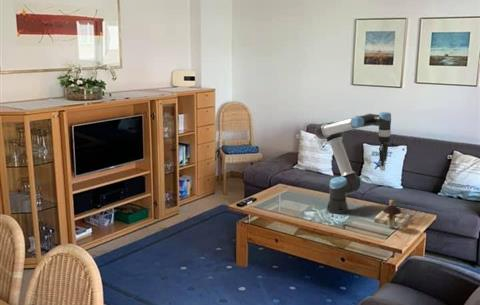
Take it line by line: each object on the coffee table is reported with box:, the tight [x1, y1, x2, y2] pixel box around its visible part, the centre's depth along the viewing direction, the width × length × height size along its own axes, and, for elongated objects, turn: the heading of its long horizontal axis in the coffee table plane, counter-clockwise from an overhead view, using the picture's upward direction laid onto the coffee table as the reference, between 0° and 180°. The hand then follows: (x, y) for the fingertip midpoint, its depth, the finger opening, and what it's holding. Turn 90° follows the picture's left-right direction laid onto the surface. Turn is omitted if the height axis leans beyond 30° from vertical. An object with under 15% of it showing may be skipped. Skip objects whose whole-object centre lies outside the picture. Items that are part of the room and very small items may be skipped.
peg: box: [388, 199, 397, 207], centre depth 328 cm, size 4×4×14 cm
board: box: [373, 210, 410, 228], centre depth 330 cm, size 18×18×3 cm
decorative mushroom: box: [382, 205, 402, 229], centre depth 315 cm, size 11×11×15 cm
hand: (382, 170), depth 332 cm, fingers closed
